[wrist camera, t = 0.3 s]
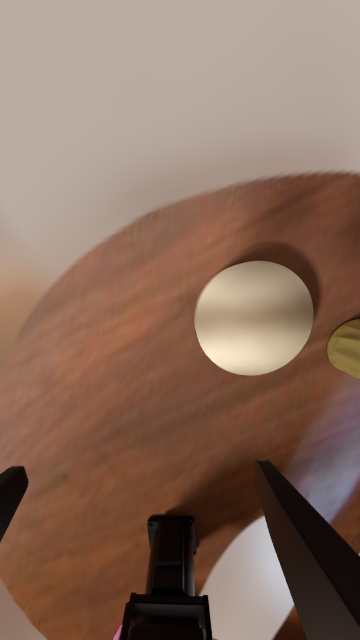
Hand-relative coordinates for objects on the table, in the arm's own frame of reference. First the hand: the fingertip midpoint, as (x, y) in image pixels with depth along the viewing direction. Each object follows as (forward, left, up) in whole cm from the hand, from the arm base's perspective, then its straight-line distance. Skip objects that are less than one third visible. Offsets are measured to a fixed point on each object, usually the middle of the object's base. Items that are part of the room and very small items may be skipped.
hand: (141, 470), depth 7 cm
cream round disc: (+3, -8, -15) cm, 17 cm away
